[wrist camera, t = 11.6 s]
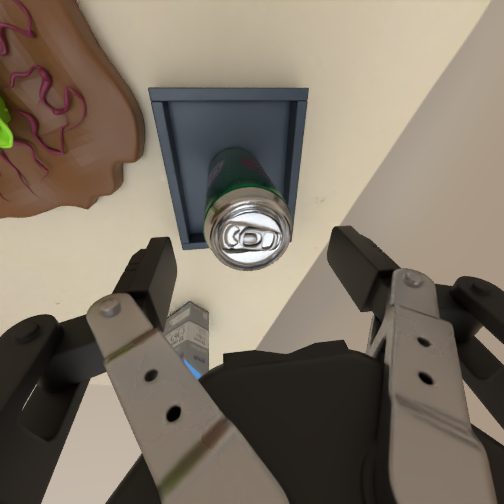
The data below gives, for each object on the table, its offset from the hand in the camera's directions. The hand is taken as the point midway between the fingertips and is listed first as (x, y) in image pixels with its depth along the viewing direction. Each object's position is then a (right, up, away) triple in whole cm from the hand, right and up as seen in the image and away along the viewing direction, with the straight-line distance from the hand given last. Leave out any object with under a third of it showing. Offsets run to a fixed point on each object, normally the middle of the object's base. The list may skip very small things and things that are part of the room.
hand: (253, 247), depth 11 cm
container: (-2, +7, +11) cm, 13 cm away
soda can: (-2, +7, +10) cm, 13 cm away
